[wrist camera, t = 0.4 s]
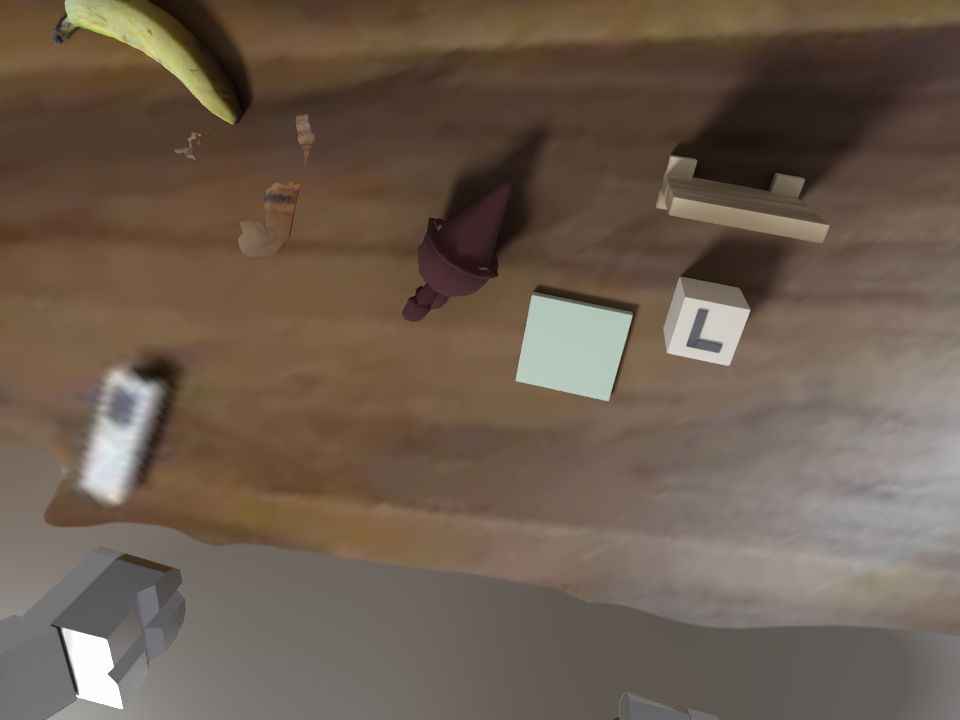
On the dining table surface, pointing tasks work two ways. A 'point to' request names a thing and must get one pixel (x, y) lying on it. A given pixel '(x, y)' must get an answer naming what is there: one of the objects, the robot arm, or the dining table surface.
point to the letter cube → (705, 321)
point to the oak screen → (740, 203)
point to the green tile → (572, 345)
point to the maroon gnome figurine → (459, 253)
